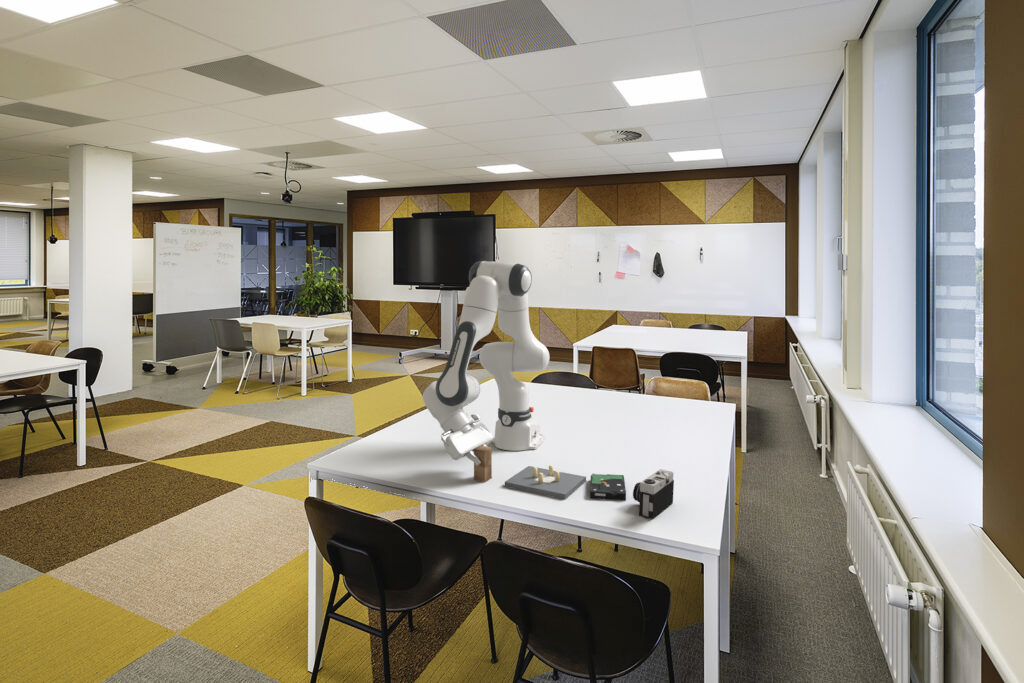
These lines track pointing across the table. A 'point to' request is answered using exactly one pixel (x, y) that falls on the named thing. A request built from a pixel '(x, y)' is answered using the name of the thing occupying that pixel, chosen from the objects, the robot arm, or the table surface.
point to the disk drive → (607, 487)
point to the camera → (654, 493)
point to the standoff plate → (546, 482)
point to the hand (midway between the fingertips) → (484, 461)
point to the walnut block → (483, 464)
